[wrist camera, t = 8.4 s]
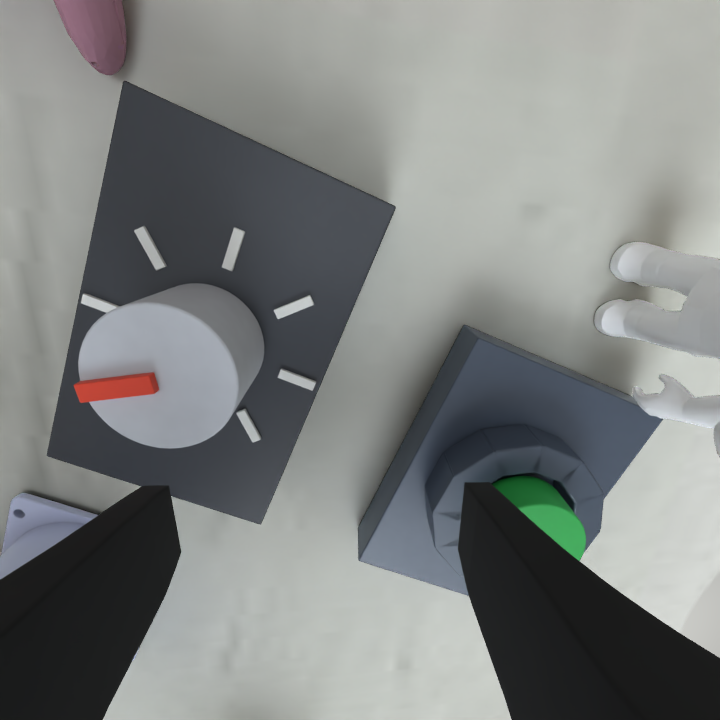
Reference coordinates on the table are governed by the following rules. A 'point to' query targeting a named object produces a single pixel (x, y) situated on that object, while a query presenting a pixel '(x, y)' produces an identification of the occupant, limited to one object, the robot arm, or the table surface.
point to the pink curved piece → (96, 31)
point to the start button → (546, 511)
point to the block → (497, 452)
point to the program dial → (171, 364)
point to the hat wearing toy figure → (669, 323)
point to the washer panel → (224, 270)
